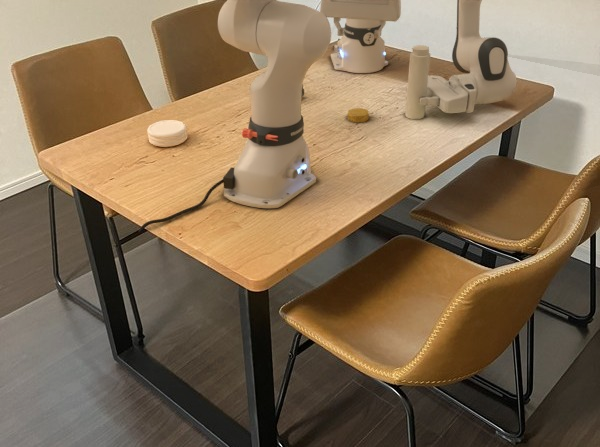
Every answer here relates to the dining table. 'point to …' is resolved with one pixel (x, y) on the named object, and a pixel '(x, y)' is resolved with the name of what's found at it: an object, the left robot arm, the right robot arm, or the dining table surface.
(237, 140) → the dining table surface
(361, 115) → the lid
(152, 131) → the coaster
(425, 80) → the jar
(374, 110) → the dining table surface
